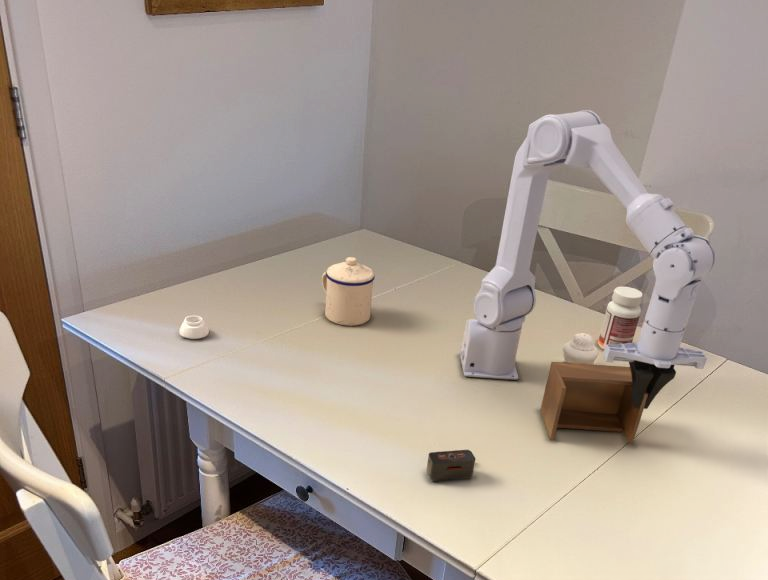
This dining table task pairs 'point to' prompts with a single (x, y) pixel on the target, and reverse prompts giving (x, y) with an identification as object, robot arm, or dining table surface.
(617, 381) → the wooden crate
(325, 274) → the teacup with lid
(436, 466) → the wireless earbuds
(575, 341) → the white swirled dome
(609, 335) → the pill bottle
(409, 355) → the dining table surface
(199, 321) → the white jar
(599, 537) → the dining table surface
